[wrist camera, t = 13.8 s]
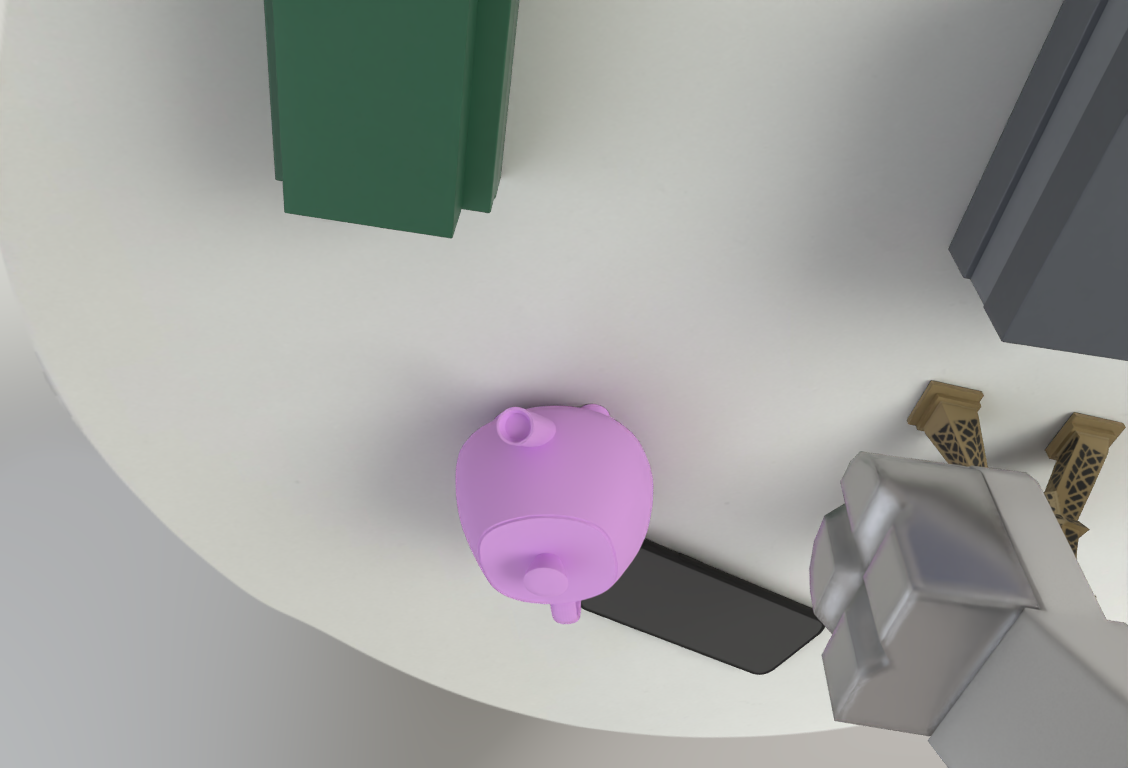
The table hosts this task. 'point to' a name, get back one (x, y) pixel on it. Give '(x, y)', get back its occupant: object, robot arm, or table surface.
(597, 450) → the teapot
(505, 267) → the table surface
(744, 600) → the smartphone
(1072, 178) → the grey stack
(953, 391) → the eiffel tower
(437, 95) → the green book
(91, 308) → the table surface
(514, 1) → the green stack
